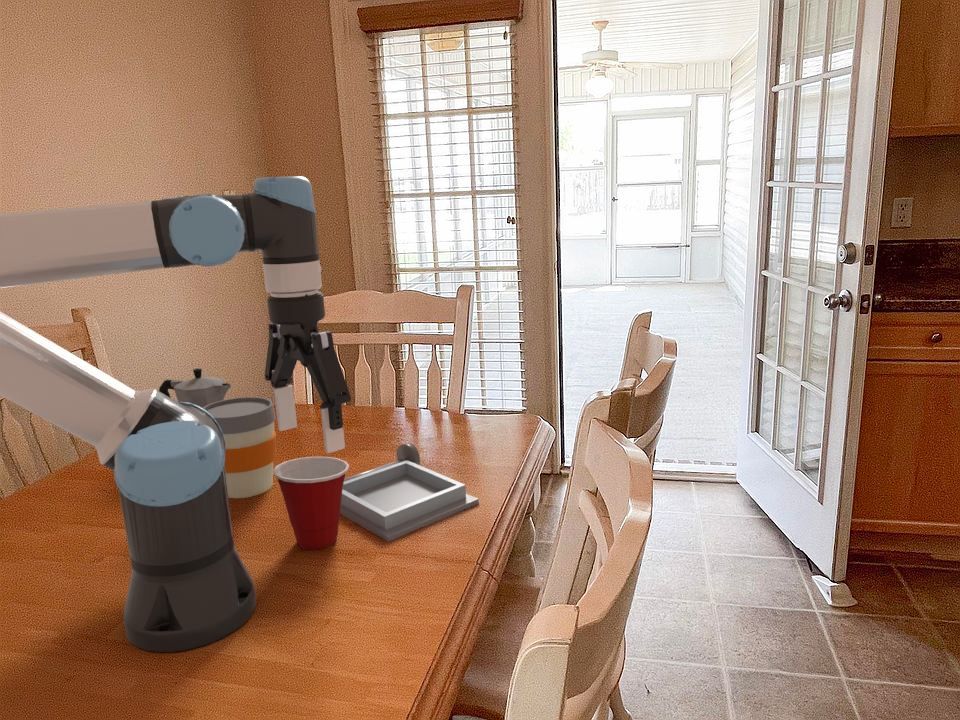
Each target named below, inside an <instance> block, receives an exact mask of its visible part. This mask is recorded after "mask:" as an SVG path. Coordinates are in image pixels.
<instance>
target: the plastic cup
mask: <svg viewBox="0 0 960 720" xmlns="http://www.w3.org/2000/svg"><path fill="white" fill-rule="evenodd" d="M349 468H350V464H349V463H348V462H347V461H346V460H343V459H340V458H337V457H331V456H330V457H329V456H307V457H299V458H298V457H297V458H294V459H290V460H285V461H283V462H282V463H279V464H277V465H275V467H273V475H274V477H275V479H277V483H278V485H279V488H280V491H281V493H282V496H283V497H282V498H283V500H284V504H285V507H286V511H287V515H288V519H289V521H290V524H291V527H292V530H293V533H294V537H295V540H296V542H297V544H298V547H300V548H301V549H303V550H308V551H316V550H323V549H326V548H329V547H330V546H332V545H333V544H334V543H336V541H337V538H338V534H339V525H340V524H339V523H340V522H339V521H340V517H341V514H340V509H341V499H342V488H343V484H344V479H345V478H346V474H347V472H348V470H349Z"/></svg>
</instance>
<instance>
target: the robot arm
mask: <svg viewBox="0 0 960 720" xmlns="http://www.w3.org/2000/svg"><path fill="white" fill-rule="evenodd" d="M252 191H253V192H248V193H242V194H196V195H178V196H175V197H166V198H162V199H157V200H156V199H155V200H152V199H151V200H142V201H140V200H139V201H129V202H119V203H116V202H115V203H110V204H109V203H108V204H106V203H105V204H96V205H85V206H74V207H62V208H53V209H52V208H51V209H42V210H30V211H18V212H8V213H7V212H6V213H5V212H4V213H0V289H6V288H13V287H22V286H31V285H37V284H46V283H55V282H62V281H63V282H64V281H71V280H79V279H88V278H96V277H103V276H111V275H112V276H113V275H119V274H130V273H137V272H146V271H154V270H161V269H168V268H169V269H170V268H171V269H172V268H175V269H176V268H181V267H182V268H183V267H190V266H191V267H192V266H202V267H215V266H220V265H223V264H226V263H228V262H230V261H231V260H232V259H234V257H236V255H237V254H238V253H247V252H248V253H254V252H261V255H262V268H263V270H262V271H263V279H264V285H265V288H264V289H265V291H266V292H267V294H270V295H268V297H267V299H266V301H267V310H268V311H267V312H268V319H269V322H270V323H269V324H268V345H267V353H266V362H265V370H264V379H265V381H266V382H270V386H271V387H272V388H273V393H274V399H275V400H274V401H275V411H276V419H277V427H278V428H277V429H278V431H279V432H283V431H288V430H290V429H294V428H298V420H297V410H296V403H295V392H294V385H292V383H294V380H293V378H292V375H293V373H294V370H295V368H296V365H297V362H298V361H299V362H300V365H301V366H303V367H305V368H306V369H307V371H308V374H309V376H310V378H311V380H312V382H313V384H314V386H315V388H316V391H317V393H318V395H319V397H320V399H321V401H322V402H321V404H320V406H319V408H320V415H321V423H322V424H321V426H322V434H323V445H324V446H323V447H324V453H326V454H331V453H334V452H337V451H340V450H344V449H346V444H345V432H344V420H343V411H342V410H343V408H342V407H343V404H346V403H350V402H351V401H352V400H351V399H352V397H351V394H350V393H351V392H350V391H349V388H348V385H347V382H346V378H345V375H344V372H343V370H342V367H341V364H340V361H339V358H338V356H337V353H336V349H335V345H334V339H333V333H332V331H330V330H327V331H323V332H320V331H319V326H318V323H319V322H320V321H322V320H323V319H324V318H325V317H326V309H325V308H326V307H325V299H324V294H323V293H322V292H321V291H319V290H320V289H321V288H322V287H323V283H322V273H321V272H322V265H321V264H320V263H321V262H320V249H319V240H318V239H319V238H318V237H319V236H318V228H317V227H318V226H317V214H316V213H317V210H316V208H315V207H316V206H315V201H314V194H313V187H312V184H311V182H310V180H309V179H308V178H306V177H305V176H301V175H300V176H299V175H298V176H297V175H295V176H294V175H293V176H292V175H290V176H274V177H273V176H272V177H257V178H256V179H255V180H254V182H253V189H252ZM288 384H289V385H288ZM0 397H2V398H4V399H6V400H8V401H10V402H12V403H14V404H15V405H17V406H19V407H21V408H22V409H25V410H27V411H28V412H31V413H32V414H34V415H36V416H38V417H40V418H41V419H44V420H45V421H47V422H49V423H51V424H53V425H55V426H56V427H58V428H60V429H62V430H63V431H66V432H68V433H69V434H71V435H73V436H75V437H77V438H79V439H80V440H82V441H84V442H86V443H87V444H89V445H91V446H93V447H94V449H95V450H96V453H97V456H98V461H99V463H100V465H102V466H104V467H106V468H107V469H110V470H111V471H113V476H114V481H115V483H116V487H117V489H118V494H119V500H120V501H119V502H120V504H121V505H120V506H121V513H122V518H123V523H124V529H125V537H126V542H127V546H128V547H127V548H128V554H129V558H130V559H129V560H130V564H131V575H130V580H129V586H128V589H127V595H126V599H125V605H124V610H123V623H124V628H125V635H126V638H127V640H128V641H129V642H130V643H131V644H132V645H133V646H135V647H137V648H138V649H140V650H145V651H148V652H155V653H173V652H181V651H186V650H187V651H188V650H192V649H196V648H199V647H202V646H205V645H209V644H212V643H214V642H216V641H218V640H221V639H222V638H225V637H226V636H229V635H230V634H231V633H234V632H235V631H237V630H238V629H239V628H240V627H242V626H243V625H244V624H245V623H246V622H247V621H248V620H249V619H250V618H251V616H252V615H253V613H254V611H255V609H256V606H257V597H256V596H257V595H256V588H255V587H256V586H255V584H254V581H253V579H252V576H251V574H250V573H249V571H248V569H247V567H246V566H245V563H244V562H243V560H242V558H241V556H240V554H239V553H238V551H237V549H236V547H235V542H234V541H235V540H234V534H233V533H234V532H233V526H232V525H233V524H232V518H231V510H230V509H231V508H230V501H229V498H228V492H227V483H226V471H225V453H226V443H225V438H224V435H223V432H222V430H221V428H220V426H219V424H218V423H217V421H216V420H215V419H214V417H213V416H212V415H211V414H210V413H209V412H207V411H206V410H205V409H203V408H201V407H200V406H197V405H195V404H192V403H188V402H178V400H175V399H173V398H172V397H171V396H170V397H171V398H170V397H168V396H166V395H165V394H163V393H161V392H160V391H159V389H156V388H149V389H143V390H135V389H133V388H131V387H130V386H128V385H126V384H125V383H123V382H121V381H119V380H118V379H116V378H115V377H114V376H111V375H109V374H108V373H107V372H104V371H103V370H101V369H99V368H97V367H96V366H94V365H92V364H91V363H89V362H87V361H86V360H84V359H82V358H80V357H79V356H77V355H75V354H74V353H72V352H70V351H69V350H67V349H66V348H63V347H62V346H61V345H59V344H56V343H55V342H54V341H51V340H50V339H49V338H46V337H45V336H43V335H41V334H40V333H38V332H37V331H34V330H33V329H32V328H29V327H27V325H24V324H23V323H21V322H20V321H17V320H16V319H14V318H13V317H10V316H9V315H7V314H5V313H4V312H2V311H0Z"/></svg>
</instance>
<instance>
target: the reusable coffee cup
mask: <svg viewBox="0 0 960 720" xmlns="http://www.w3.org/2000/svg"><path fill="white" fill-rule="evenodd" d="M274 408H275V407H274V404H273V401H272V399H269V398H266V397H262V396H261V397H260V396H240V397H233V398H227V399H223V400H222V401H218V402H214V403H211V404H209V405H207V406H205V407H203V409H205V410H206V411H207V412H209V413H210V414H211V415H212V416H213V417H214V419H215V420H216V421H217V423H218V424H219V426H220V428H221V430H222V432H223V435H224V438H225V443H226V453H225V471H226V483H227V492H228V499H245V498H246V499H247V498H250V497H251V498H252V497H255V496H257V495H261V494H264V493H266V492H268V491H269V490H270V489H271V488H272V487H273V483H274V480H273V479H274V476H273V475H274V472H273V469H274V461H275V460H276V458H277V457H276V456H277V455H276V454H277V453H276V452H277V432H276V430H275V421H276V419H277V415H276V412H275V411H276V410H275V409H274Z"/></svg>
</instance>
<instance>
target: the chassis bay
mask: <svg viewBox="0 0 960 720" xmlns="http://www.w3.org/2000/svg"><path fill="white" fill-rule="evenodd" d="M396 459H397V460H396V461H393V462H390V463H386V464H384V465H381V466H378V467H375V468H372V469H369V470H366V471H363V472H360V473H357V474H355V475H350V476H348V477H345V478H344V484H343V488H342V499H341V509H340V515H341V514H342V515H341V516H343V515H344V516H343V517H345V518H346V517H347V518H346V519H349V520H350V521H351V522H353V521H354V523H355V524H357V525H359V526H360V525H361V526H360V527H362V528H364V529H365V530H367V531H369V532H370V531H371V533H372V534H374V535H375V536H378V537H379V538H381V539H382V540H384V541H386V542H387V543H389V542H391V541H393V540H396V539H398V538H400V537H403V536H405V535H408V534H410V533H412V532H411V531H413V532H414V530H415V531H417V530H419V528H420V529H422V528H424V527H426V526H427V527H428V526H429V525H431V524H434V523H436V522H438V521H439V522H440V520H443V519H445V518H448V517H450V516H453V515H455V514H457V513H460V512H462V511H465V510H466V509H469V508H471V506H472V507H474V506H476V505H478V503H479V504H480V500H479V499H480V498H478V497H476V496H473V495H470V494H468V493H467V491H466V488H467V487H466V484H465V483H462V482H460V481H457V480H456V479H452V478H450V477H448V476H445V475H443V474H441V473H438V472H436V471H434V470H431V469H429V468H427V467H425V466H422V465H421V464H420V463H421V459H420V453H419V451H418V449H417V447H416V446H415V444H413V443H412V442H406V443H403V444H400V445H398V447H397V449H396ZM464 509H465V510H464ZM459 511H460V512H459ZM421 527H422V528H421ZM416 529H417V530H416ZM409 532H410V533H409Z"/></svg>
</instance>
